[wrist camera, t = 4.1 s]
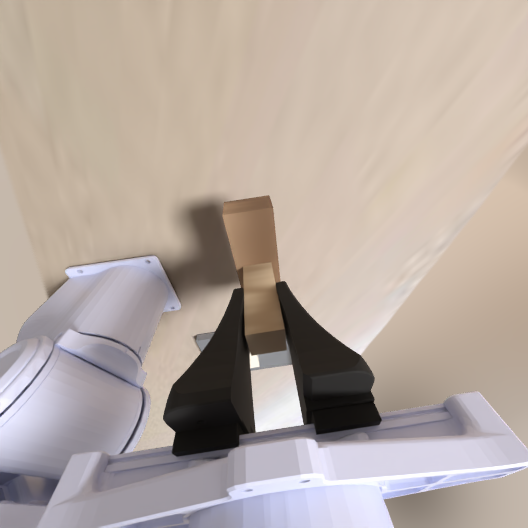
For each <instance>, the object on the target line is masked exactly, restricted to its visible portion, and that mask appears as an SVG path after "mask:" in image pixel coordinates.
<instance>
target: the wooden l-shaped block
mask: <svg viewBox="0 0 528 528" xmlns="http://www.w3.org/2000/svg"><path fill="white" fill-rule="evenodd" d="M222 216H223V220H224V224H225V228H226V231H227V235H228V239H229V243H230V247H231V250H232V254H233V258H234V262H235V266H236V269H237V273H238V277H239V281H240V285H241V288H244V319H245V337H246V340H247V343H248V347H249V350H250V353H251V356H253V355H260V354H266V353H272V352H279V351H285V350H287V346H286V336H285V328H284V323H283V318H282V313H281V308H280V303H279V298H278V294H277V290H276V282H280V273H279V263H278V253H277V243H276V233H275V223H274V213H273V206H272V203H271V200H270V197H269V195H268V196H262V197H255V198H249V199H242V200H236V201H229V202H224V207H223V214H222Z"/></svg>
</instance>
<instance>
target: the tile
mask: <svg viewBox="0 0 528 528" xmlns="http://www.w3.org/2000/svg"><path fill="white" fill-rule="evenodd" d="M255 367H260V365H259V357H258V355H253V356H251V353H250V368H255Z"/></svg>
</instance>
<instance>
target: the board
mask: <svg viewBox="0 0 528 528" xmlns="http://www.w3.org/2000/svg"><path fill="white" fill-rule="evenodd" d="M214 333H215V332H213V333H206V334H199V335H197V338H196V342H197V344H198V346H199V348H200V350H201V352H202V351H203V350H204V348H205V347H206V345H207V344H208V342H209V341H210V339H211V338H212V336H213V335H214ZM286 346H287V350H285V351H279V352H272V353H266V354H260V355H258V357H259V365H260V367H255V368H250V371H251V370H258V369H265V368H272V367H278V366H285V365H292V360H291V355H290V351H289V347H288V344H287V340H286Z"/></svg>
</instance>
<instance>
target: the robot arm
mask: <svg viewBox="0 0 528 528" xmlns="http://www.w3.org/2000/svg"><path fill="white" fill-rule="evenodd" d="M147 260H149V261H150V262H148V261H147ZM81 270H82V271H81ZM65 273H66V274H67V275H68V277H69V279H68V280H67V281H66V282H65V283H64V284H63V285H62V286H61V287H60V288H59V289H58V290H57V291H56V292H55V293H54V294H53V295H52V296H51V297H50V298H49V299H48V300H47V301H46V302H44V304H43V305H41V306H40V307H39V308H38V309H37V310H36V311H35V312H34V313H33V314H32V315H31V316H30V317H29V318H28V319H27V320H26V322H25V323H24V324H23V326H22V328H21V329H20V332H19V334H18V338H17V342H16V344H13V345H12V346H10V347H8V348H7V349H6V350H4V351H2V352H1V353H0V528H394V526H393V524H392V521H391V518H390V516H389V513H388V510H387V508H386V505H385V502H384V499H388V498H393V497H398V496H403V495H408V494H413V493H419V492H423V491H429V490H434V489H439V488H444V487H449V486H454V485H460V484H466V483H471V482H477V481H483V480H489V479H495V478H501V477H504V476H507V475H510V474H512V473H514V472H517V471H520V470H523V469H525V468H528V449H527V448H526V446H525V445H524V444H523V443H522V442H521V441H520V439H519V438H518V437H517V436H516V435H515V434H514V432H513V431H512V430H511V429H510V428H509V427H508V425H507V424H506V423H505V422H504V421H503V420H502V418H500V416H499V415H498V414H497V413H496V411H495V410H494V409H493V408H492V407H491V405H490V404H489V403H488V402H487V401H486V400H485V399H484V397H483V396H482V395H481V394H480V393H479V392H477V391H474V392H467V393H461V394H455V395H451V396H449V397H447V398H446V399H445V400H444V403H441V404H435V405H428V406H422V407H416V408H409V409H403V410H397V411H390V412H384V413H378V411H377V408H376V406H375V404H374V397H373V395H372V393H371V388H372V386H373V383H374V376H373V373H372V371H371V370H370V368H369V366H368V365H367V363H366V362H365V361H364V359H363V358H362V357H361V355H359V354H358V353H356V352H354V351H353V350H351V349H350V348H348V347H347V346H345V345H344V344H343V343H341V342H340V341H339V340H337V339H336V338H335V337H333V336H332V335H331V334H330V333H328V332H327V331H326V330H325V329H324V328H323V327H321V326H320V325H319V324H318V323H317V322H316V321H315V320H314V319H313V318H312V317H311V316H310V315H309V314H308V313H307V311H306V310H305V309H304V308H303V307H302V306H301V304H300V303H299V302H298V300H297V299H296V298H295V296H294V295H293V294H292V292H291V291H290V289H289V287H288V285H287V283H286V282H285V281H282V282H276V290H277V294H278V298H279V303H280V308H281V313H282V318H283V323H284V328H285V336H286V340H287V344H288V347H289V351H290V355H291V360H292V365H293V370H294V375H295V380H296V385H297V391H298V396H299V401H300V407H301V412H302V418H303V423H304V425H301V426H295V427H288V428H282V429H276V430H269V431H263V432H255V421H254V410H253V398H252V385H251V372H250V350H249V347H248V343H247V340H246V337H245V319H244V288H238V289H234V291H233V294H232V297H231V300H230V302H229V305H228V307H227V310H226V312H225V314H224V316H223V318H222V320H221V322H220V324H219V326H218V328H217V329H216V331H215V333H214V335H213V336H212V338H211V339H210V341H209V342H208V344H207V345H206V347H205V348H204V350H203V351H202V352H201V354H200V355H199V356H198V357H197V359H196V360H195V361H194V362H193V363H192V365H191V366H190V367H189V368H188V369H187V371H186V372H185V373H184V374H183V375H182V376H181V377H180V378H179V379H178V380H177V381H176V382H175V383H174V384H173V386H172V388H171V391H170V394H169V397H168V400H167V403H166V407H165V411H164V415H163V420H164V421H165V423H166V424H167V425H168V426H169V427H171V428H172V429H173V430H174V431H175V432H176V433H175V438H174V443H173V446H167V447H161V448H155V449H148V450H142V451H136V452H132V451H133V450H134V448H135V447H136V445H137V443H138V442H139V440H140V438H141V436H142V434H143V431H144V429H145V426H146V423H147V420H148V417H149V412H150V404H151V401H150V395H149V392H148V391H147V389H146V388H144V387H143V383H144V381H145V378H146V375H147V373H146V372H145V371H143V370H142V368H141V367H142V365H143V362H144V359H145V357H146V354H147V352H148V349H149V347H150V344H151V341H152V339H153V336H154V334H155V331H156V329H157V326H158V323H159V321H160V318H161V316H162V313H163V312H167V311H174V310H180V309H181V303H180V301H179V299H178V297H177V295H176V293H175V291H174V289H173V287H172V285H171V283H170V281H169V279H168V277H167V275H166V273H165V271H164V269H163V267H162V265H161V263H160V261H159V259H158V258H157V257H156V256H145V257H138V258H131V259H124V260H117V261H110V262H103V263H96V264H89V265H82V266H75V267H69V268H67V269H66V270H65Z"/></svg>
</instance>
